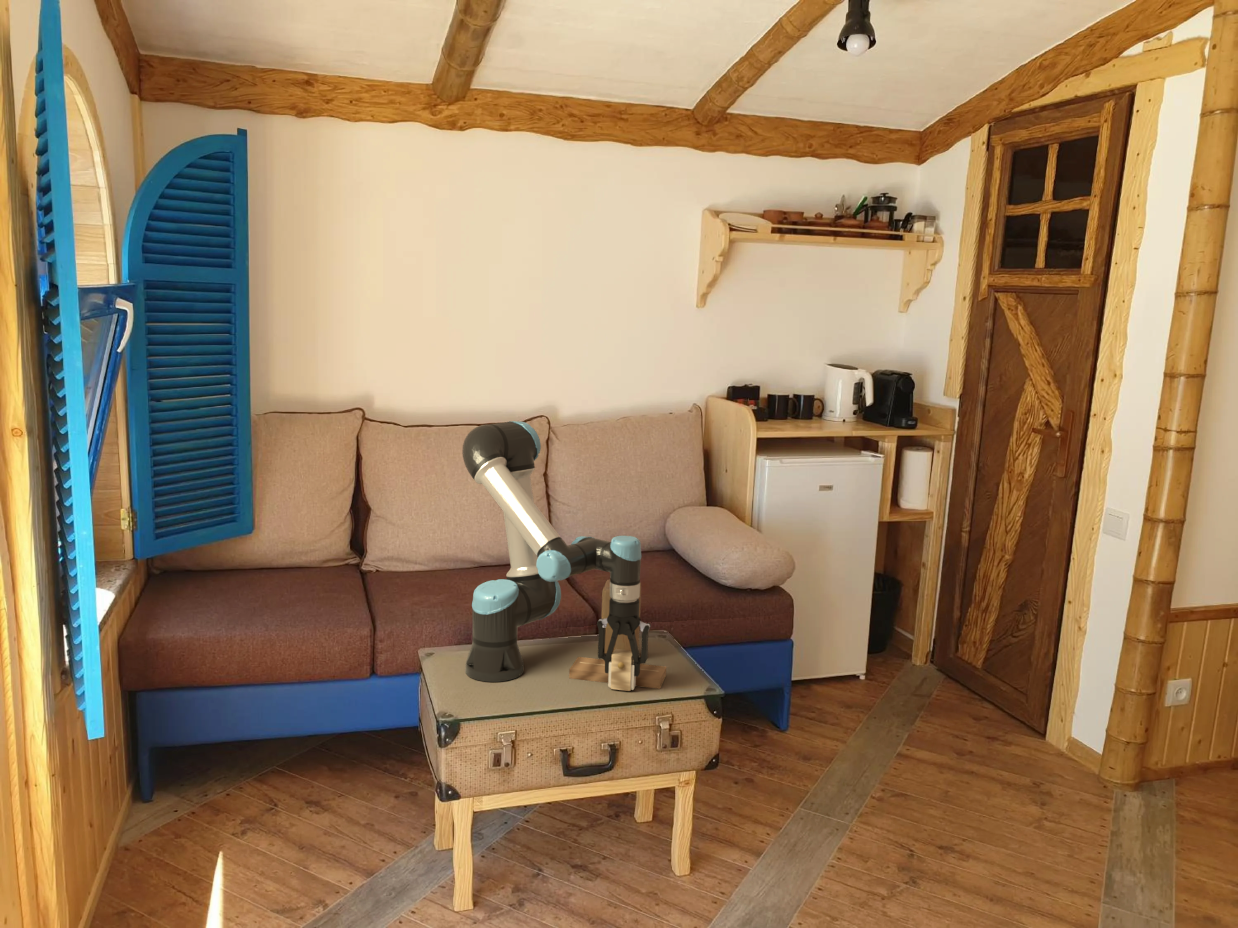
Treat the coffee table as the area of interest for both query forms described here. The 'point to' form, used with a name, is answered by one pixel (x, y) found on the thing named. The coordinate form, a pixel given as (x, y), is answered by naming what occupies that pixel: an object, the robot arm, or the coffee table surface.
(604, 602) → the wooden block
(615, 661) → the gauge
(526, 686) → the coffee table surface
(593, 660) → the board
